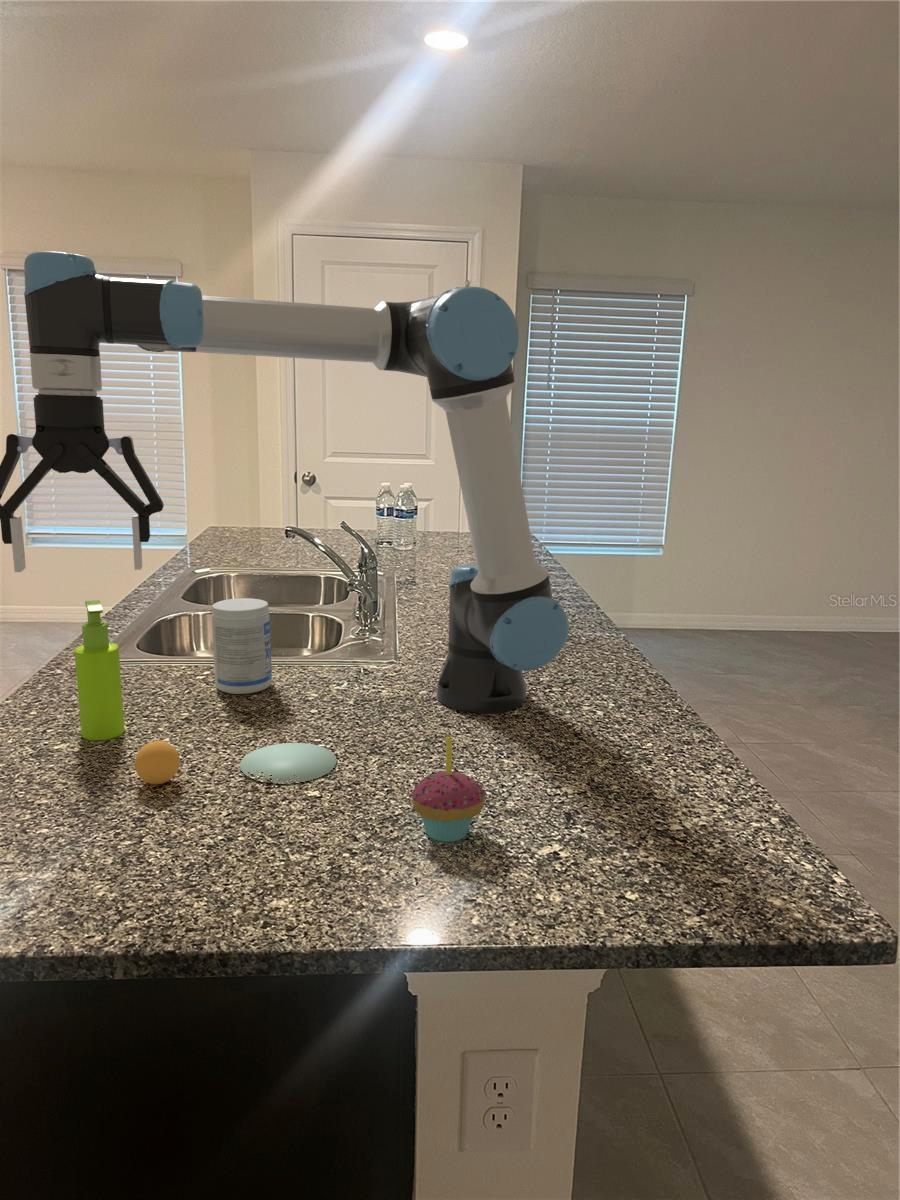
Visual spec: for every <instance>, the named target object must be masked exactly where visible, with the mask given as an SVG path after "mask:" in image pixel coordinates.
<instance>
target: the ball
mask: <svg viewBox="0 0 900 1200" xmlns="http://www.w3.org/2000/svg"><path fill="white" fill-rule="evenodd" d="M180 763H181V760H180V754H179V751H178V750H177V749H176V747H174V746H173V745H172V744H171V743H169V742H167V741H163V740H154V741H150V742H148V743H147V744H145V745H143V746H142V747H140V749H139V750H138V752H137V753H136V756H135V759H134V769H135V772H136V774H137V776H138V778H140V779H141V780H142V781H144V782H146V783H147V784H150V785H162V784H165V783H167V782H168V781H170V780H172V779H173V778H174V777H175V776H176V774H177V773H178V771H179V768H180V766H181V765H180Z"/></svg>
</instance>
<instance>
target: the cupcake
mask: <svg viewBox="0 0 900 1200" xmlns="http://www.w3.org/2000/svg"><path fill="white" fill-rule="evenodd" d="M447 735H448V736H446V739H445V742H446V744H445V745H446V746H445V747H446V749H445V751H446V753H445V763H446V764H445V770H444V771H439V772H435V773H432V774H431V773H430V774H428V775H426V777H424V778H422V779H421V780H419V781H418V782H417V783H416V784H415V786H414V788H413V789H412V795H411V796H412V797H411V801H412V808H413V809H414V811H415V812H416V813H418V815H419V816H420V818H421V819H422V822H423V825H424V829H425V832H426V835H427V836H428V837H429V838H431V839H432V840H433V841H437V842H441V843H442V842H443V843H453V842H458V841H460V840H462V839H464V838H465V837H466V836H467V834H468V831H469V828H470V825H471V823H472V821H473V818H474V817H476V816H478V815H479V814H480V813H481V812H482V810H483V808H484V806H485V803H486V791H485V790H483V787H482V786H481V785H480V783H479V781H476V780H475V779H474V777H470V775H467V774H465V773H461V772H455V771H452V770H453V769H452V767H453V766H452V765H453V764H452V761H453V759H452V758H453V757H452V755H453V737H452V736H451V729H448V733H447Z"/></svg>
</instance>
